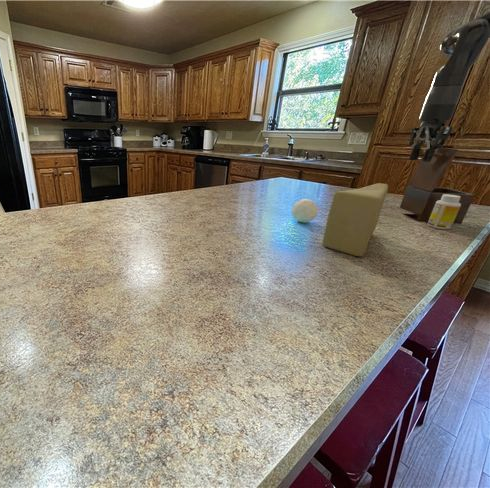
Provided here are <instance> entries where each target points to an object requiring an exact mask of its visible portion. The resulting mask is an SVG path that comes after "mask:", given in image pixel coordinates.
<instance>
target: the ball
mask: <svg viewBox="0 0 490 488" xmlns="http://www.w3.org/2000/svg"><path fill="white" fill-rule="evenodd" d="M291 214H292V218H293V219H294V220H295V221H296V222H298V223H303V224H307V223H309V222H312V221H314V220H315V219H316V218H317V216H318V214H319V207H318V205H317V203H315V201H313V199H307V198H302V199H300V200H297V201H296V203H294V204H293V206H292V209H291Z"/></svg>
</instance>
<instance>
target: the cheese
mask: <svg viewBox="0 0 490 488" xmlns="http://www.w3.org/2000/svg"><path fill="white" fill-rule="evenodd" d="M388 189H389V184H387V183H379V182H377V183H374V184H371V185H367V186H364V187H360V188H355V189H345V190H338V191H335V193H334V194H333V198H332V201H331V204H330V208H329V212H328V216H327V220H326V225H325V228H324V233H323V239H322V246H323V247H326V248H328V249H330V250H331V249H332V250H335V251H337V252H341V253H344V254H348V255H350V256H355V257H362V256H364V254H365V252H366V250H367V248H368V244H369V242H370V239H371V237H372V236H373V234H374V232H375V231H376V227H377V225H378V223H379V219H380V215H381V211H382V208H383V205H384V202H385V199H386V196H387V195H388V194H387V193H388Z"/></svg>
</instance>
